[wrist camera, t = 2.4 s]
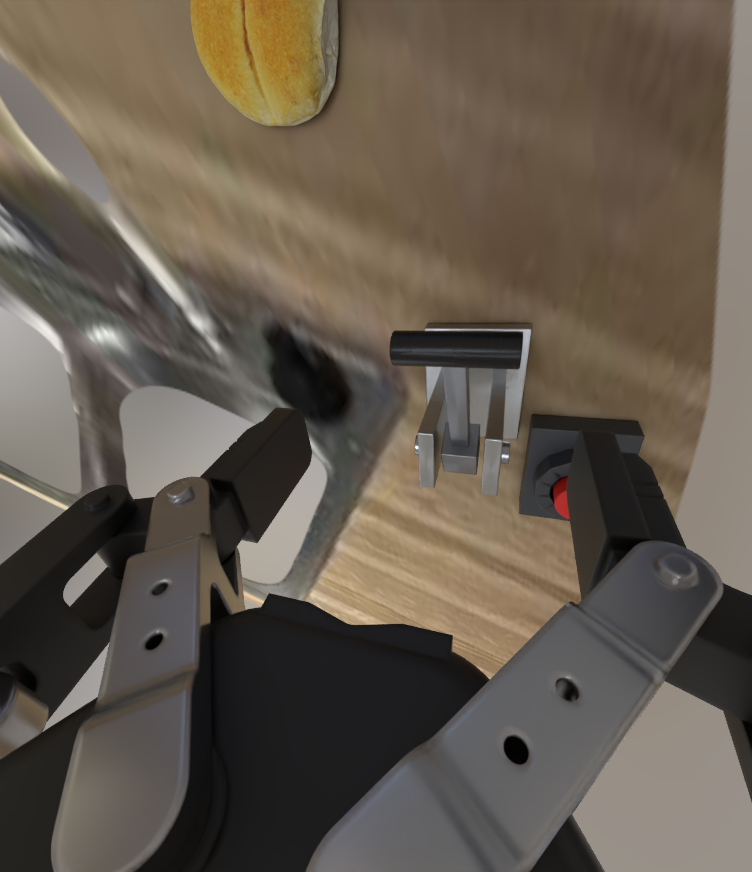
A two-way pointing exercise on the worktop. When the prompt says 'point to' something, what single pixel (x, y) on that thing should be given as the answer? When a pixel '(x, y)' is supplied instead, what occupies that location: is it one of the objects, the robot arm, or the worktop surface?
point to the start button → (561, 497)
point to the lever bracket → (475, 410)
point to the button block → (562, 456)
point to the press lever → (458, 379)
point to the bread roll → (269, 55)
